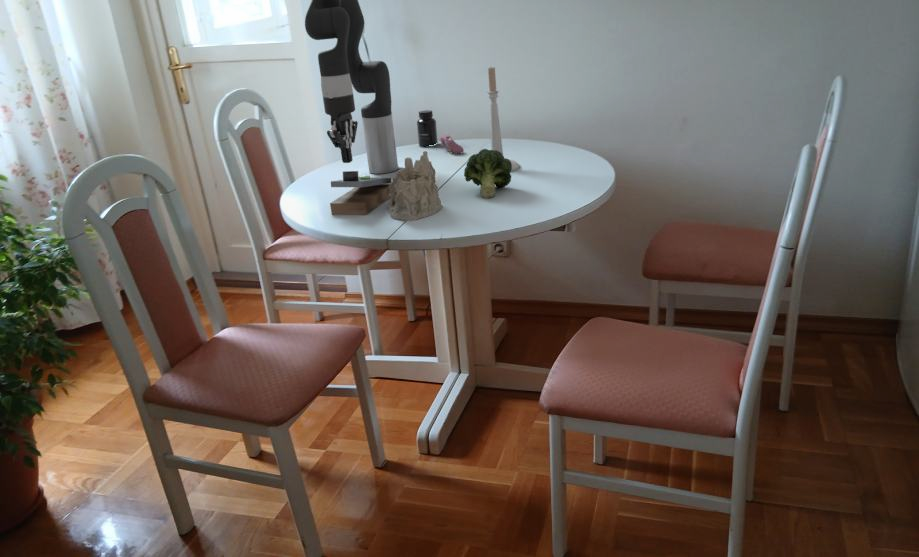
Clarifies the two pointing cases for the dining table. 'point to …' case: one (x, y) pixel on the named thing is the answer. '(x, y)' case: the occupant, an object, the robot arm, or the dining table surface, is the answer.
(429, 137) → the supplement bottle
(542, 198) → the dining table surface
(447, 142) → the pink shoe
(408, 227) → the dining table surface
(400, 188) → the miniature castle
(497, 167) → the vegetable
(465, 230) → the dining table surface
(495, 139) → the candlestick
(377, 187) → the brown boxy piece
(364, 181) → the plate
